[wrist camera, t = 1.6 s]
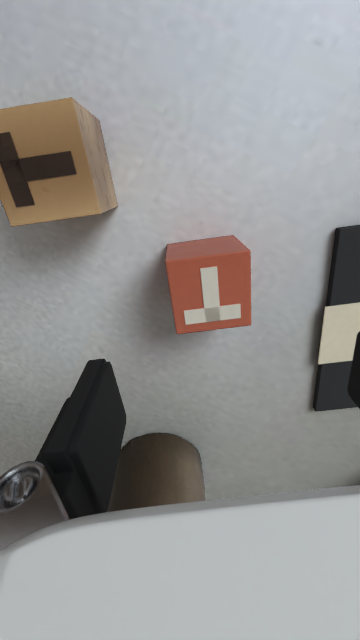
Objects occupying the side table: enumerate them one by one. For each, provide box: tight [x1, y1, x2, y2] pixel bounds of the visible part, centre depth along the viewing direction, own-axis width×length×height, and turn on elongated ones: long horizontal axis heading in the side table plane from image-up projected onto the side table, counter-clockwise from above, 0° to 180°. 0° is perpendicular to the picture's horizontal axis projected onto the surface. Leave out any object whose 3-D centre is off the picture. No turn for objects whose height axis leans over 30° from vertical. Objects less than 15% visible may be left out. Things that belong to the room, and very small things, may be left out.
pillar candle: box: [108, 433, 205, 512], centre depth 25 cm, size 10×10×15 cm
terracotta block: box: [165, 235, 251, 334], centre depth 19 cm, size 5×5×5 cm
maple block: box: [0, 98, 118, 227], centre depth 16 cm, size 5×5×5 cm
